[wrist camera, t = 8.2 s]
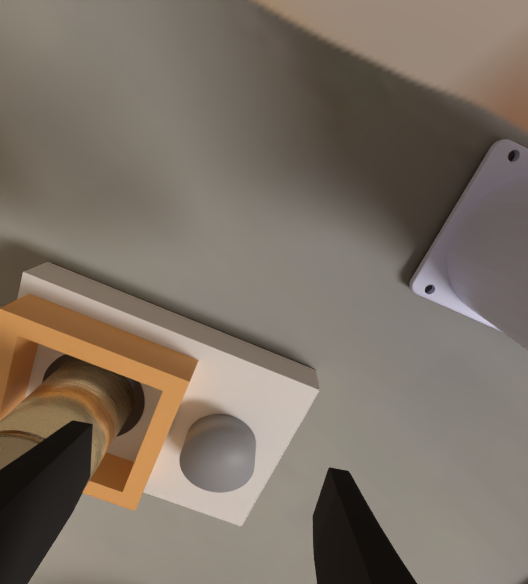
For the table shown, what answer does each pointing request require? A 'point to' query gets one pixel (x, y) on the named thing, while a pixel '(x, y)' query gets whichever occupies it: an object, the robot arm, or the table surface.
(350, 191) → the table surface
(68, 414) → the bead tin
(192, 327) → the white fixture board
